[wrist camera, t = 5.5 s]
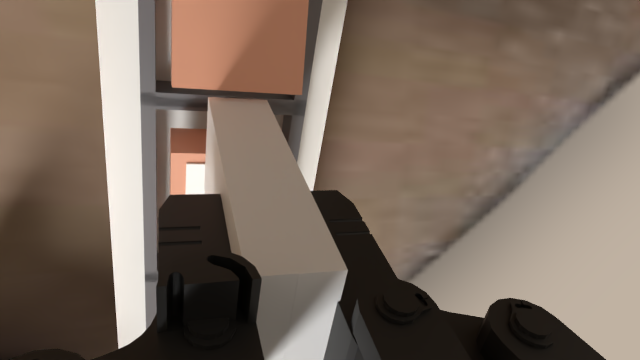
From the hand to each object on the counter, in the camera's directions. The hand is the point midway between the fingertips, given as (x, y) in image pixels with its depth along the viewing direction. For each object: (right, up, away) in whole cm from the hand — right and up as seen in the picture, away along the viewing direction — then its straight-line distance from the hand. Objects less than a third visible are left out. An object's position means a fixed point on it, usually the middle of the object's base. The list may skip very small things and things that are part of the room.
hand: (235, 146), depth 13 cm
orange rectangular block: (0, +4, -1) cm, 4 cm away
